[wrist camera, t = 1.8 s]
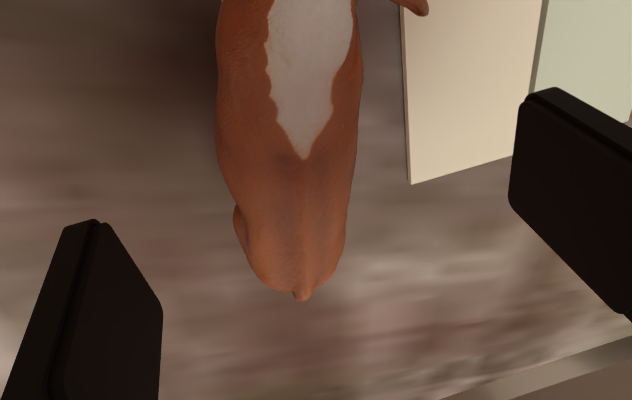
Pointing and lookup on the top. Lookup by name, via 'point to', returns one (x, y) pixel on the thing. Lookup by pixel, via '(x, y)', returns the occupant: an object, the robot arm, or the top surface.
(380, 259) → the top surface
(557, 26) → the game board
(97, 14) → the top surface
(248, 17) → the bull figurine
